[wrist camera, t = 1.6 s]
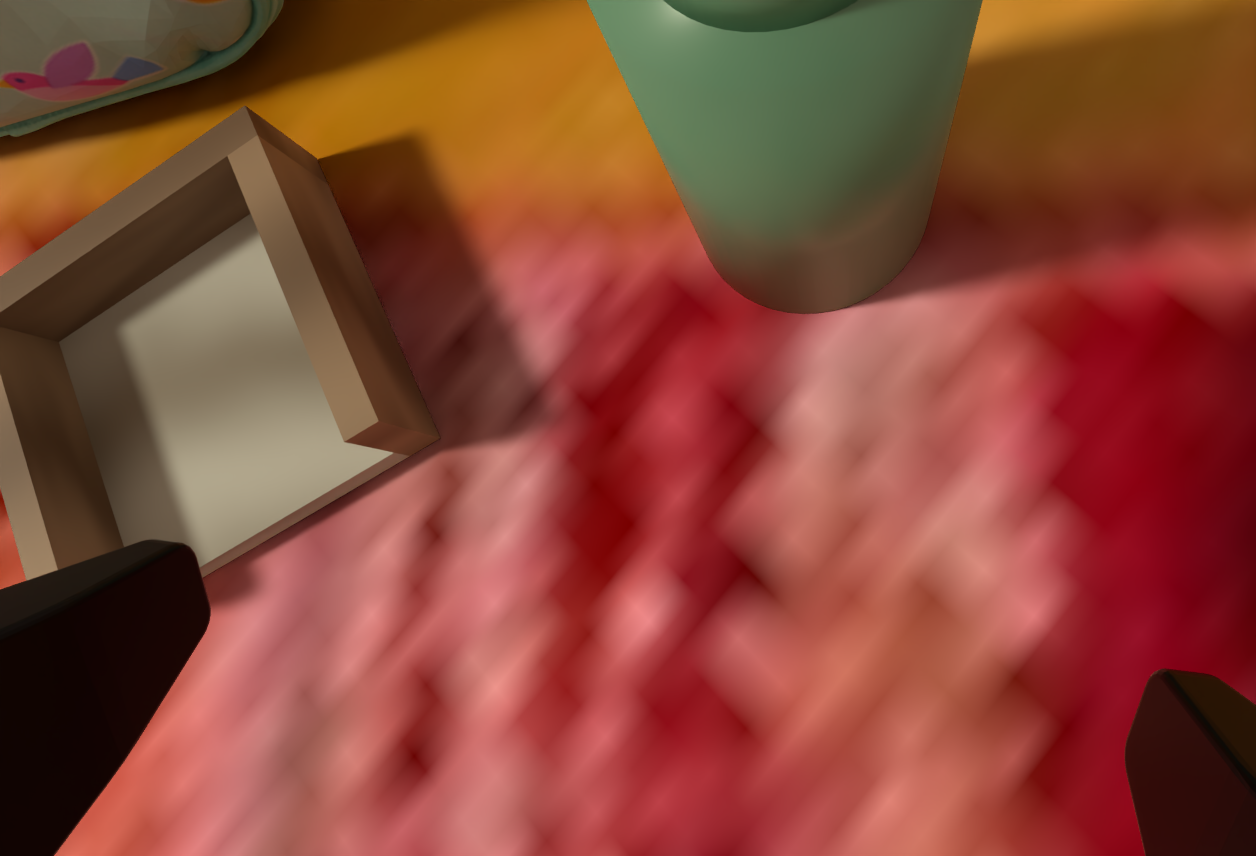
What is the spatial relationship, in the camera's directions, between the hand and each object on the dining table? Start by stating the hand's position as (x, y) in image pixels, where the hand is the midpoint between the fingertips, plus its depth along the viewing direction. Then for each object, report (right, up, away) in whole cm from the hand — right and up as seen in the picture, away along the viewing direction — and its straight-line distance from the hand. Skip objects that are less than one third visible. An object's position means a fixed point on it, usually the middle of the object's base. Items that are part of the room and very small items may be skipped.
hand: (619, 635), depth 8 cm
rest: (-11, +3, +16) cm, 20 cm away
